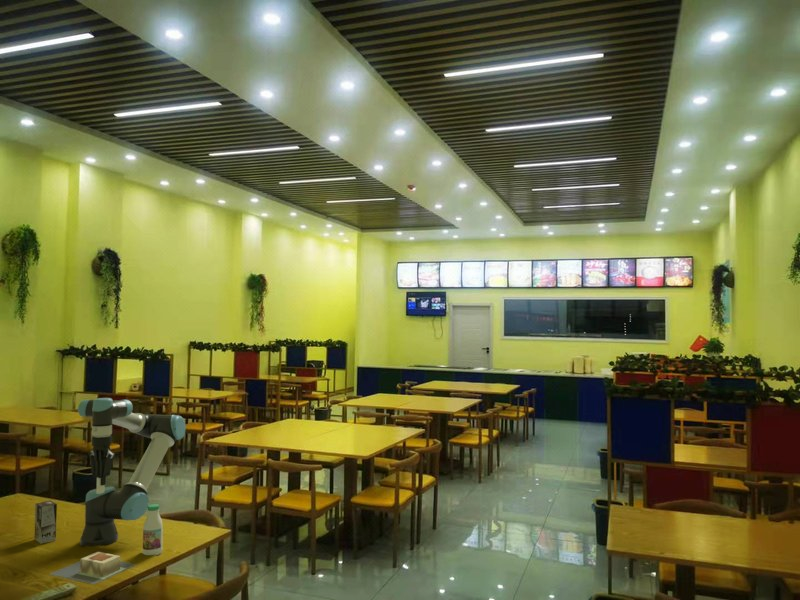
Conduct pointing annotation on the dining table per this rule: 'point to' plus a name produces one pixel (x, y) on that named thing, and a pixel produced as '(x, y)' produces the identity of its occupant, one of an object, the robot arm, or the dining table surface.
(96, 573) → the maple block
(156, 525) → the milk bottle
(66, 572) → the topple mat
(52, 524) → the coffee box
